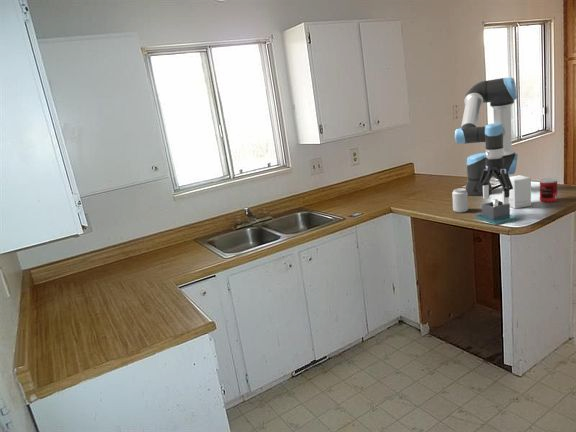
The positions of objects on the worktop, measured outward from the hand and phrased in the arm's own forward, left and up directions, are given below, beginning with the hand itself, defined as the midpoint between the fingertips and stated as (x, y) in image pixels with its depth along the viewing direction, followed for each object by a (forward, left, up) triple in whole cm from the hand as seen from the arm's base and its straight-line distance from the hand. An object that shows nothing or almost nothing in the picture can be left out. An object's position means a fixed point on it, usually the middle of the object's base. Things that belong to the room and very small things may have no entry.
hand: (495, 200), depth 205 cm
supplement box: (-11, +22, -9) cm, 26 cm away
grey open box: (0, 0, -8) cm, 8 cm away
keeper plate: (0, 0, -9) cm, 9 cm away
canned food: (-8, +38, -9) cm, 40 cm away
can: (-22, -4, -9) cm, 24 cm away
